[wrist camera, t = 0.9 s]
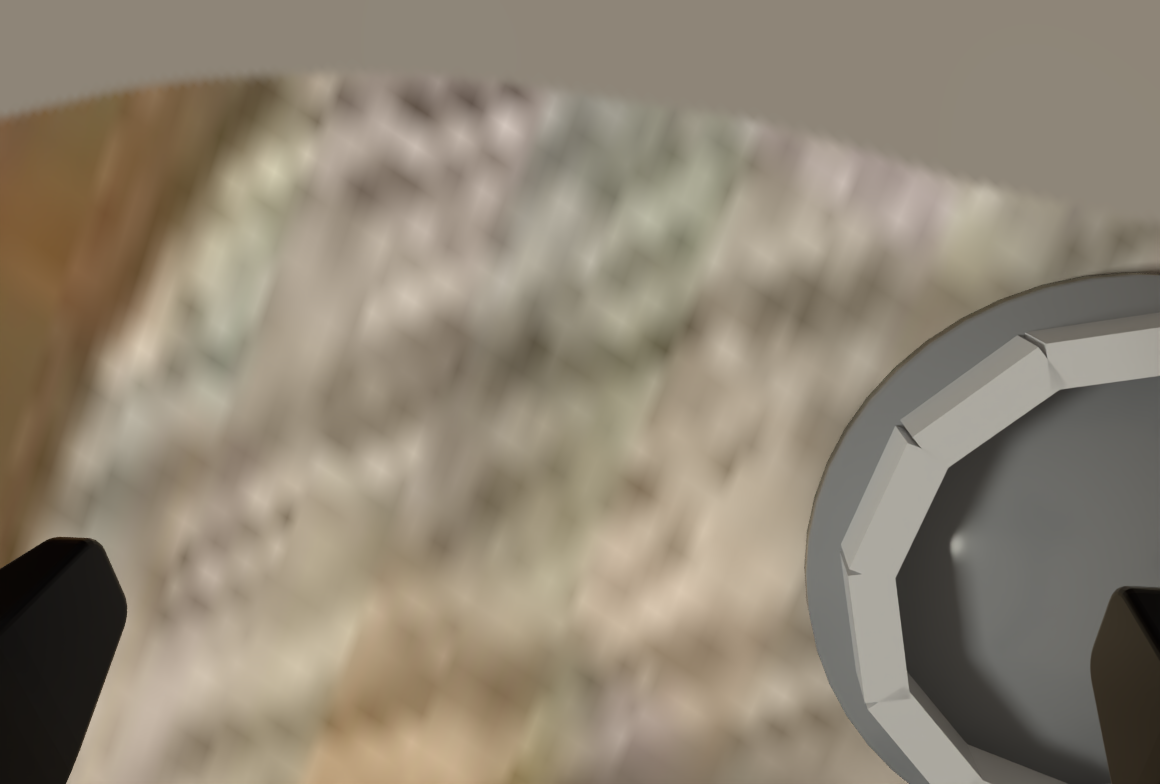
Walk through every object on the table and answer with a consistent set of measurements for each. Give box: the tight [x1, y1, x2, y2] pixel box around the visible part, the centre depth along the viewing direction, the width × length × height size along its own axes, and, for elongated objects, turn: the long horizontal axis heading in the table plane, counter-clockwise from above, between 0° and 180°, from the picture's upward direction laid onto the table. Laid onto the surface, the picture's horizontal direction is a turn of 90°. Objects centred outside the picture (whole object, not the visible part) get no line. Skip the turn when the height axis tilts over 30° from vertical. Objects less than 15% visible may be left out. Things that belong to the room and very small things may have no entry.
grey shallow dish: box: [804, 272, 1160, 784], centre depth 23 cm, size 14×14×2 cm
